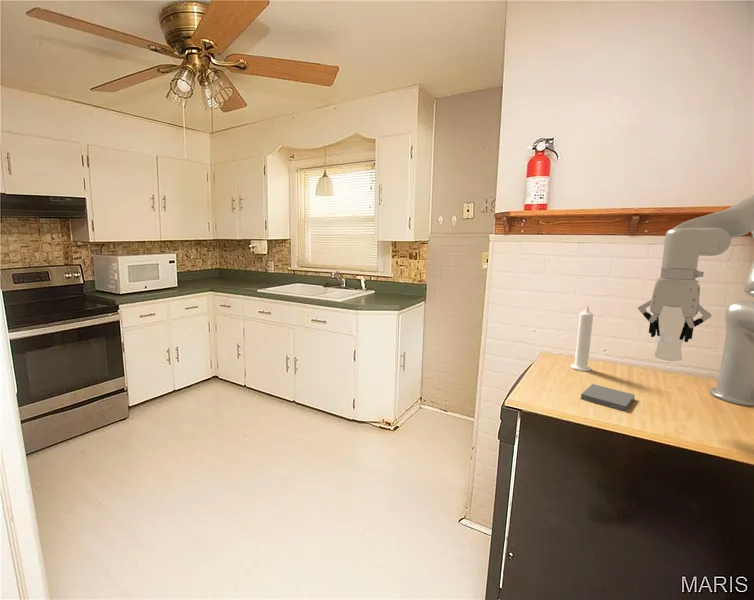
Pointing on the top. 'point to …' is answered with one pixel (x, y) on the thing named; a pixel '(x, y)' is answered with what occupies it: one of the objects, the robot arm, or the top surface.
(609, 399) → the slate coaster
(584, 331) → the candle
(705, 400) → the top surface
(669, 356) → the beer glass
